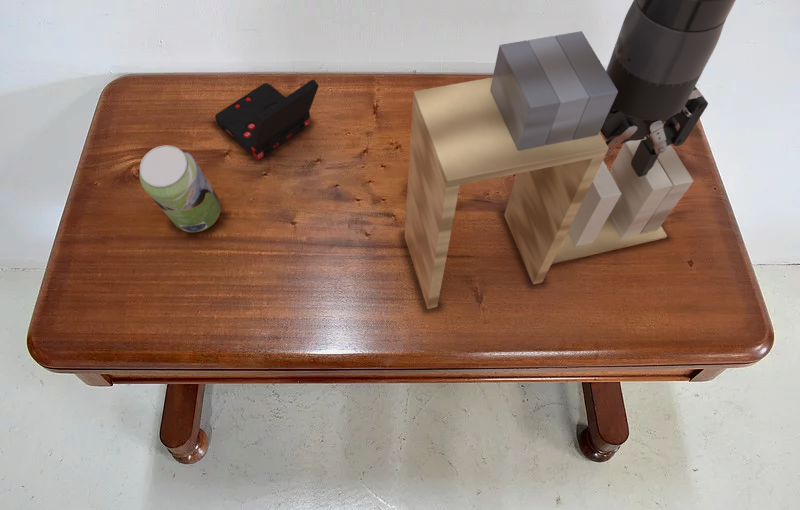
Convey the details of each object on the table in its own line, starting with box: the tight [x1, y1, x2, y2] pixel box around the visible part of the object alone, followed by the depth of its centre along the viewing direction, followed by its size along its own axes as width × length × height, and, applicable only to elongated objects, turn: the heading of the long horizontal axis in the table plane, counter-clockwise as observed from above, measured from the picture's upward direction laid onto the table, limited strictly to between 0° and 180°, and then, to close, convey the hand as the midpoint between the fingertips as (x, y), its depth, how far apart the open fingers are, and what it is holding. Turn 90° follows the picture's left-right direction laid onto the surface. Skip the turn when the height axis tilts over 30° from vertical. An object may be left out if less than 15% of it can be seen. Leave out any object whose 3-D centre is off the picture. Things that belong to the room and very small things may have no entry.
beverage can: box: [139, 144, 222, 233], centre depth 69 cm, size 6×7×12 cm
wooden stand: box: [404, 30, 618, 310], centre depth 59 cm, size 10×14×29 cm
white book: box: [568, 160, 621, 246], centre depth 70 cm, size 7×2×10 cm, turn 15°
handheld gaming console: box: [214, 79, 319, 160], centre depth 77 cm, size 9×12×10 cm
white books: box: [551, 137, 694, 265], centre depth 70 cm, size 9×16×10 cm, turn 105°
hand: (606, 177), depth 65 cm, fingers open, 7 cm apart
